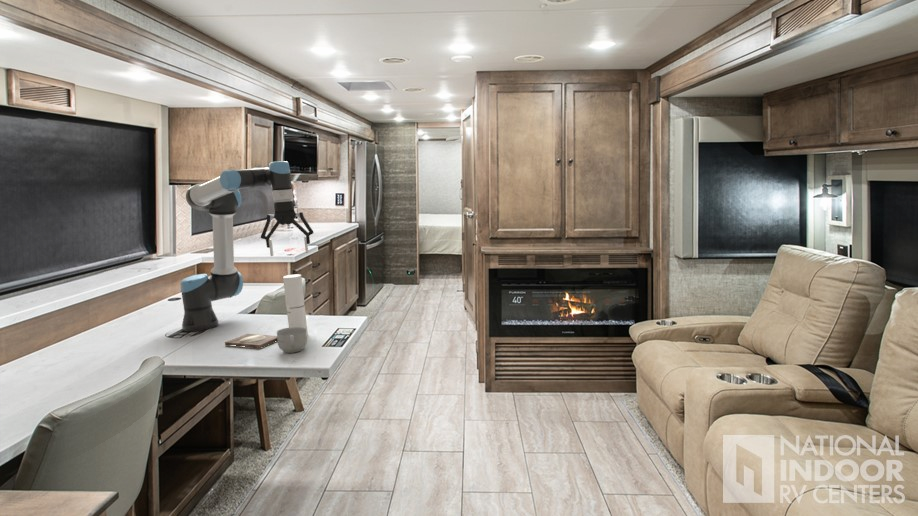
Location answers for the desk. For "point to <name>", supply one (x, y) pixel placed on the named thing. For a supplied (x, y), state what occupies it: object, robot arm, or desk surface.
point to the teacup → (292, 339)
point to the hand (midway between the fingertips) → (289, 254)
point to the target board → (252, 340)
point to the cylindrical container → (295, 301)
